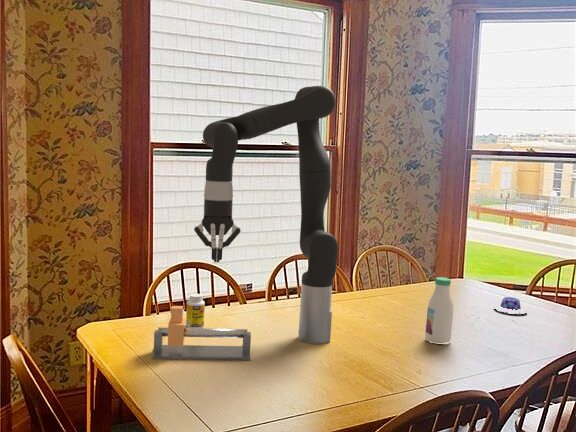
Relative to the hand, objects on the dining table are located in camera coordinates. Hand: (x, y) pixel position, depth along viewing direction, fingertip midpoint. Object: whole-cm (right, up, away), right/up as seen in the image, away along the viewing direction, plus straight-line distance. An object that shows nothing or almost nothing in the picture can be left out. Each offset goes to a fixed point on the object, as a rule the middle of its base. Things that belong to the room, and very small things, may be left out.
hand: (216, 261), depth 166 cm
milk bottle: (+66, -27, +25) cm, 75 cm away
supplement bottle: (-10, -23, +26) cm, 36 cm away
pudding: (+103, -24, +66) cm, 124 cm away
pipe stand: (-4, -26, +3) cm, 26 cm away
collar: (-11, -22, +2) cm, 25 cm away
